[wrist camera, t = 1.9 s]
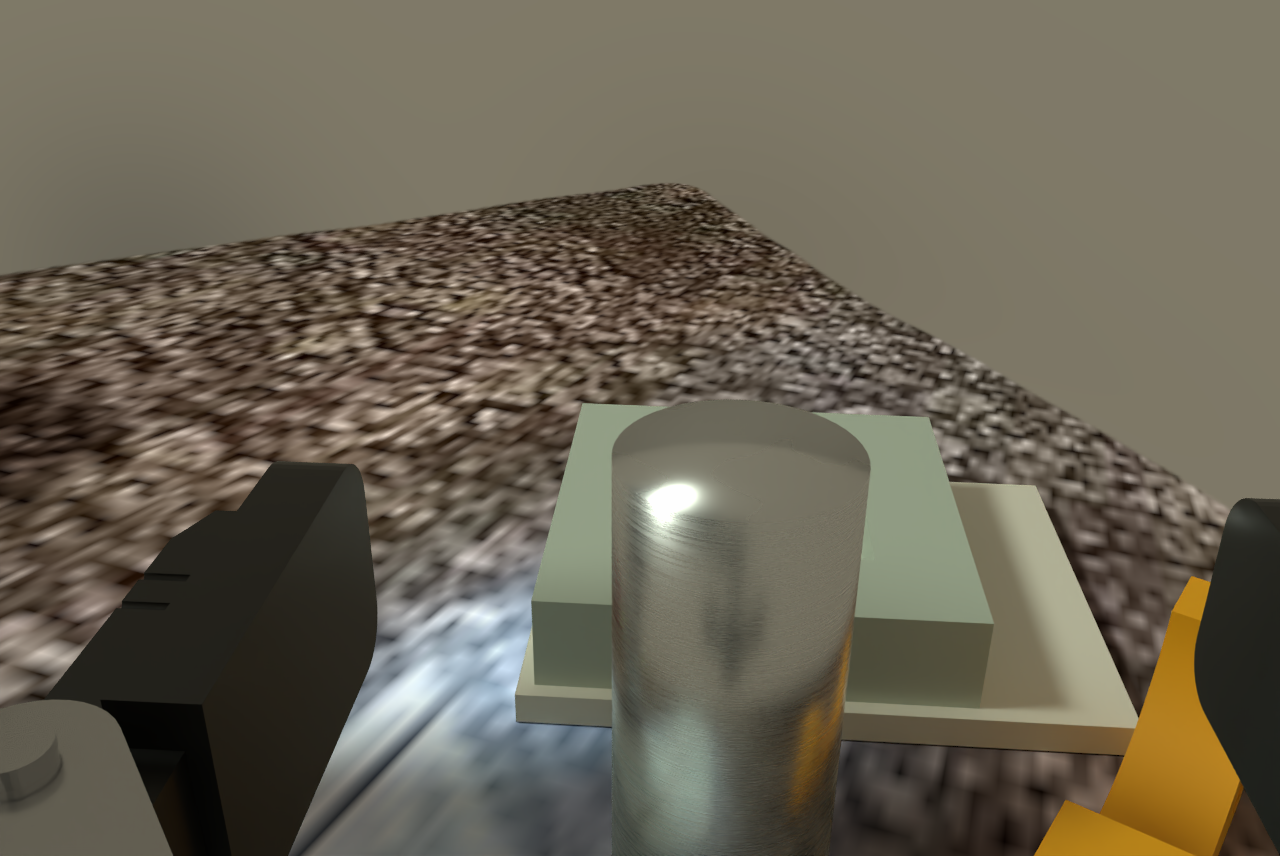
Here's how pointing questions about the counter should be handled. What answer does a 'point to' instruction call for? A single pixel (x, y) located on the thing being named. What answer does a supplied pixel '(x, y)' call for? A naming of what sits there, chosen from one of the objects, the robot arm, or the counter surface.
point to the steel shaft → (731, 627)
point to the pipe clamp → (1161, 767)
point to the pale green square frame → (872, 606)
